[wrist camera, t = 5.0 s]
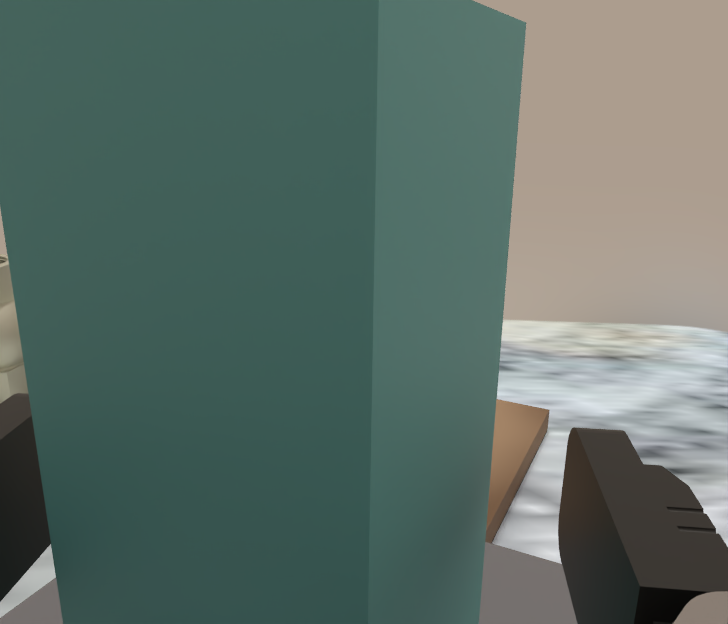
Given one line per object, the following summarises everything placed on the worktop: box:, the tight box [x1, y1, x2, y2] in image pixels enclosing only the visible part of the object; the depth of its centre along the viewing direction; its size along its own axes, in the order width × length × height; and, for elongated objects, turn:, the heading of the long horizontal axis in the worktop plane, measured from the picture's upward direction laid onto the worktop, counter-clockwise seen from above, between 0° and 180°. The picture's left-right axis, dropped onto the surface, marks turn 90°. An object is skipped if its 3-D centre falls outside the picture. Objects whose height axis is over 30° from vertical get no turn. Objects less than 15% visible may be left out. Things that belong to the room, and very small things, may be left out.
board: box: [485, 399, 549, 543], centre depth 28 cm, size 14×12×1 cm
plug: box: [0, 0, 526, 624], centre depth 10 cm, size 4×4×15 cm
